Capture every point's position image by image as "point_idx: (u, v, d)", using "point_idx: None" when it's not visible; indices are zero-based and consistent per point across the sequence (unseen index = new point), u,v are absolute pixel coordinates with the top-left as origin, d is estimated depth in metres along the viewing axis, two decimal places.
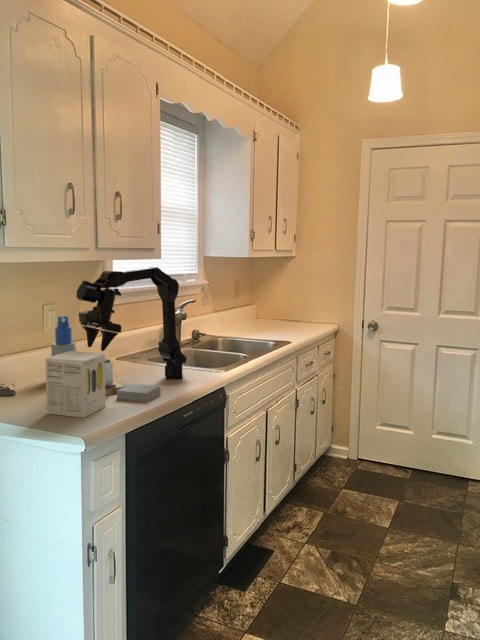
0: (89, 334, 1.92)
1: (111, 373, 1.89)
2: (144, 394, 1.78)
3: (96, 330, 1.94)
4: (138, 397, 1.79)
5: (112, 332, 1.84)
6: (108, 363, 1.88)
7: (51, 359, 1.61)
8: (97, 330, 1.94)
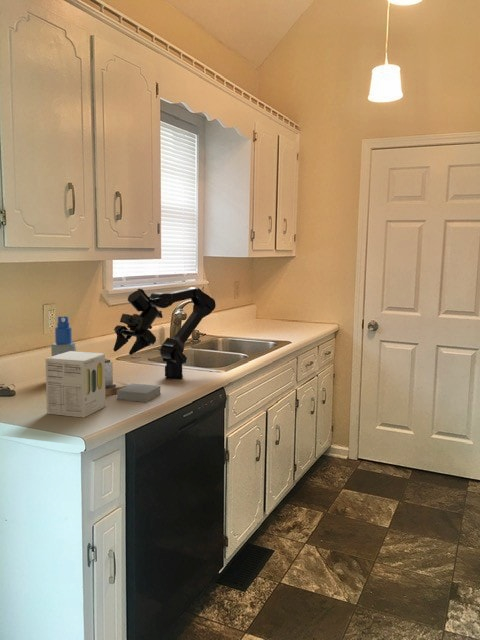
0: (119, 339, 1.99)
1: (111, 373, 1.89)
2: (144, 394, 1.78)
3: (125, 340, 2.01)
4: (138, 397, 1.79)
5: (146, 340, 1.92)
6: (108, 363, 1.88)
7: (51, 359, 1.61)
8: (126, 340, 2.01)
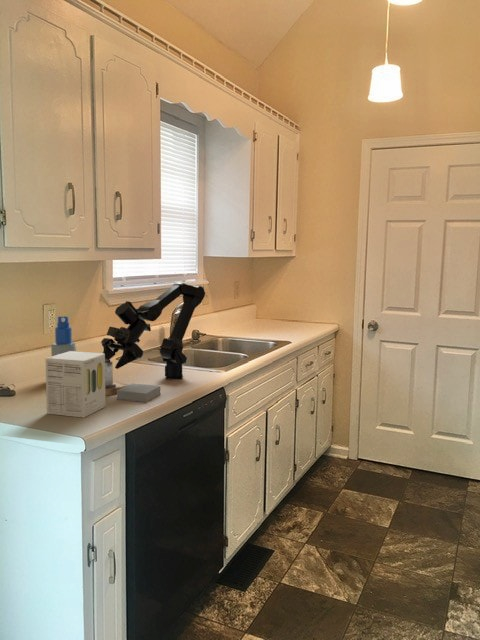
0: (106, 353, 1.95)
1: (111, 373, 1.89)
2: (144, 394, 1.78)
3: (113, 353, 1.97)
4: (138, 397, 1.79)
5: (133, 354, 1.88)
6: (108, 363, 1.88)
7: (51, 359, 1.61)
8: (113, 353, 1.98)
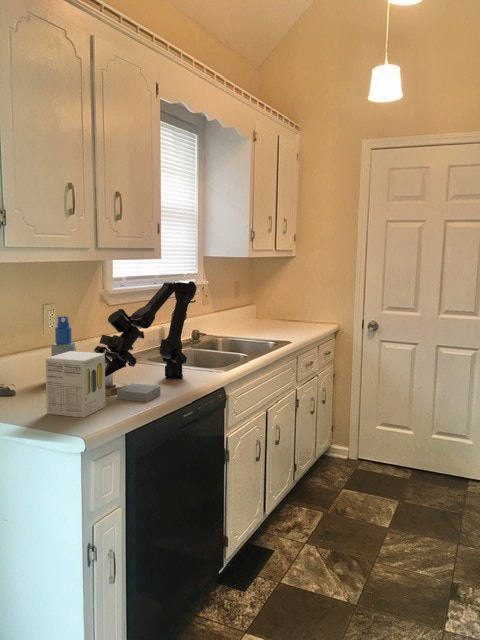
0: None
1: None
2: (144, 394, 1.78)
3: None
4: (138, 397, 1.79)
5: (122, 362, 1.88)
6: (108, 363, 1.88)
7: (51, 359, 1.61)
8: None
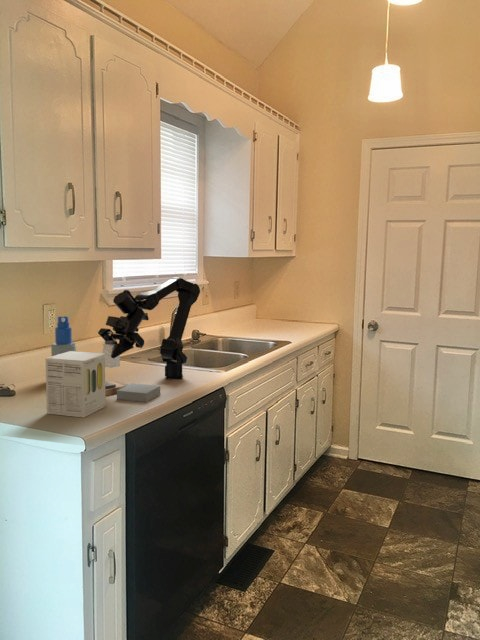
0: None
1: None
2: (144, 394, 1.78)
3: None
4: (138, 397, 1.79)
5: (130, 343, 1.86)
6: (115, 345, 1.85)
7: (51, 359, 1.61)
8: None
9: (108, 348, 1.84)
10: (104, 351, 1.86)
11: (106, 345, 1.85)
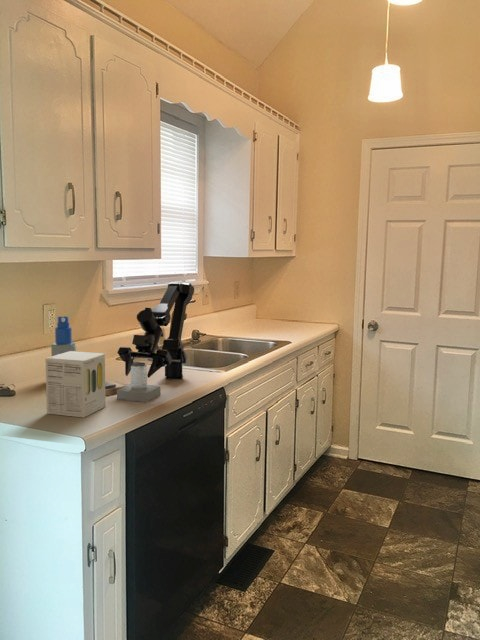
0: (129, 362, 1.86)
1: (146, 376, 1.85)
2: (144, 394, 1.78)
3: (132, 362, 1.89)
4: (138, 397, 1.79)
5: (163, 361, 1.85)
6: (144, 366, 1.84)
7: (51, 359, 1.61)
8: None
9: (138, 370, 1.82)
10: (133, 373, 1.82)
11: (135, 367, 1.82)
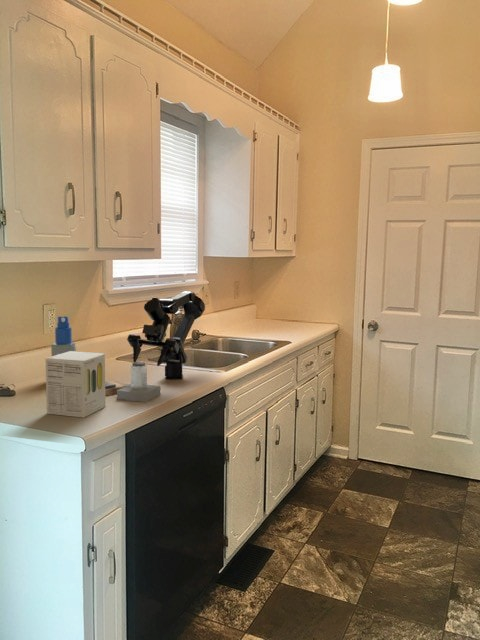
0: (137, 350, 1.95)
1: (146, 376, 1.85)
2: (144, 394, 1.78)
3: (139, 349, 1.98)
4: (138, 397, 1.79)
5: (172, 350, 1.94)
6: (144, 366, 1.84)
7: (51, 359, 1.61)
8: (140, 349, 1.99)
9: (138, 370, 1.82)
10: (133, 373, 1.82)
11: (135, 367, 1.82)
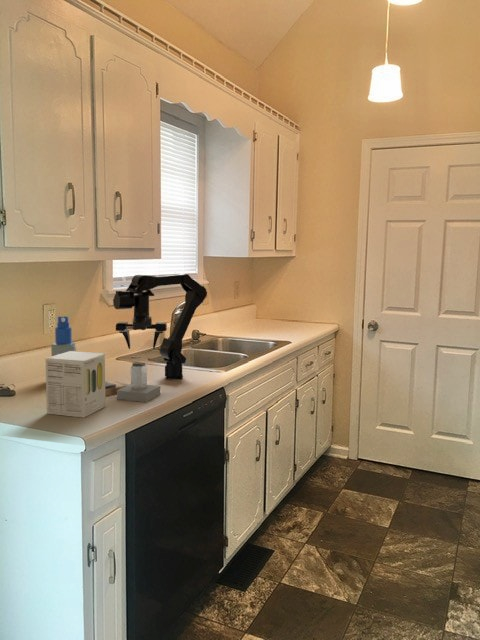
0: (128, 337, 2.03)
1: (146, 376, 1.85)
2: (144, 394, 1.78)
3: (128, 331, 2.05)
4: (138, 397, 1.79)
5: None
6: (144, 366, 1.84)
7: (51, 359, 1.61)
8: (128, 331, 2.05)
9: (138, 370, 1.82)
10: (133, 373, 1.82)
11: (135, 367, 1.82)
